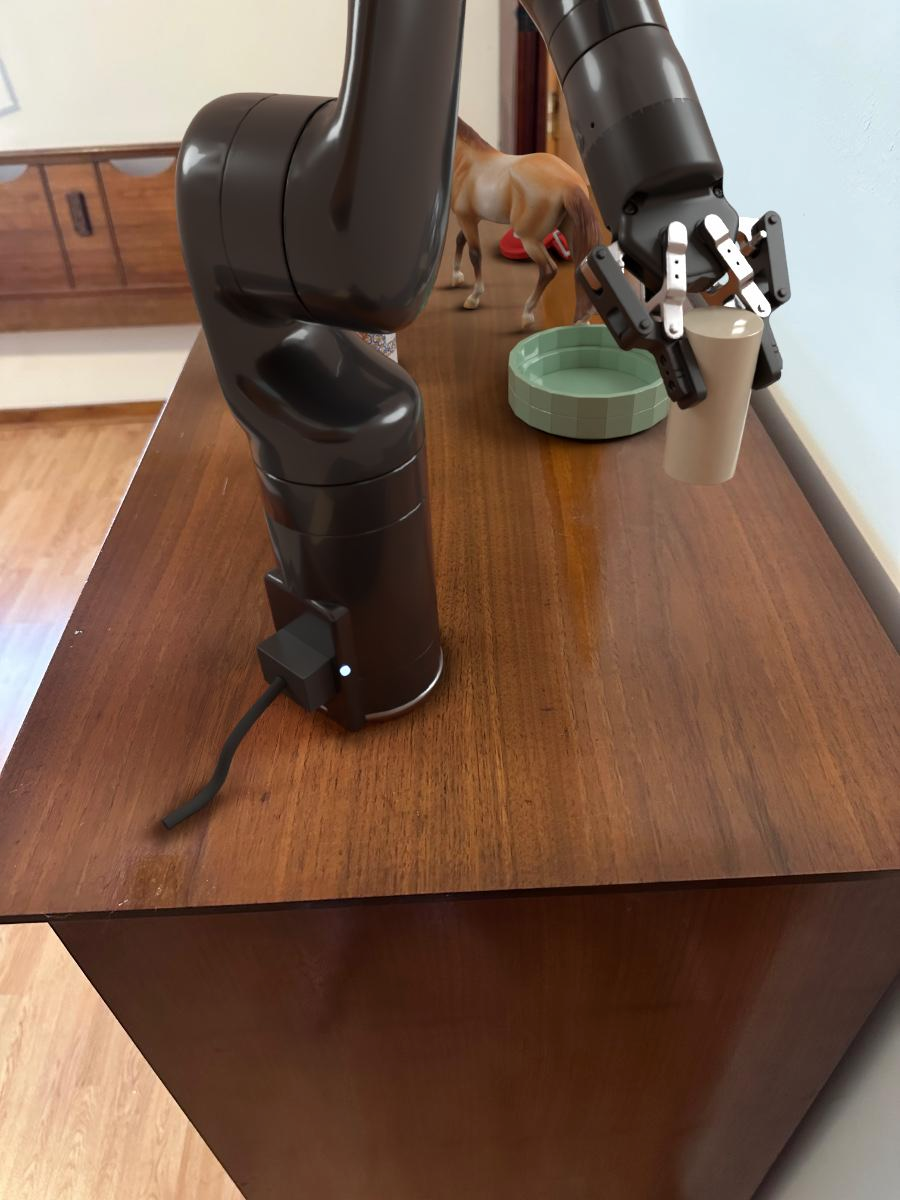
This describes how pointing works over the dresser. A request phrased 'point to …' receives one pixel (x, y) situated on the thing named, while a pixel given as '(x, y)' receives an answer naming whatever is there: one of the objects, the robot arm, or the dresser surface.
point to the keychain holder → (515, 249)
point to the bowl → (584, 384)
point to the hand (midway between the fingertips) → (731, 393)
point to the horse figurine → (521, 212)
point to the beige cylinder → (714, 396)
